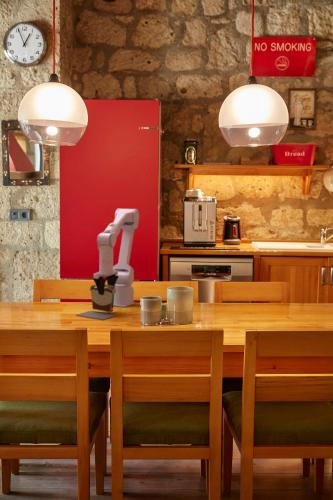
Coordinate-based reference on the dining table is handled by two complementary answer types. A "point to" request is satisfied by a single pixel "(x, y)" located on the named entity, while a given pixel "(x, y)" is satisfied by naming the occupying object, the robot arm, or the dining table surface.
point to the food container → (103, 298)
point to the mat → (97, 315)
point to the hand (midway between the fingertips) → (105, 293)
